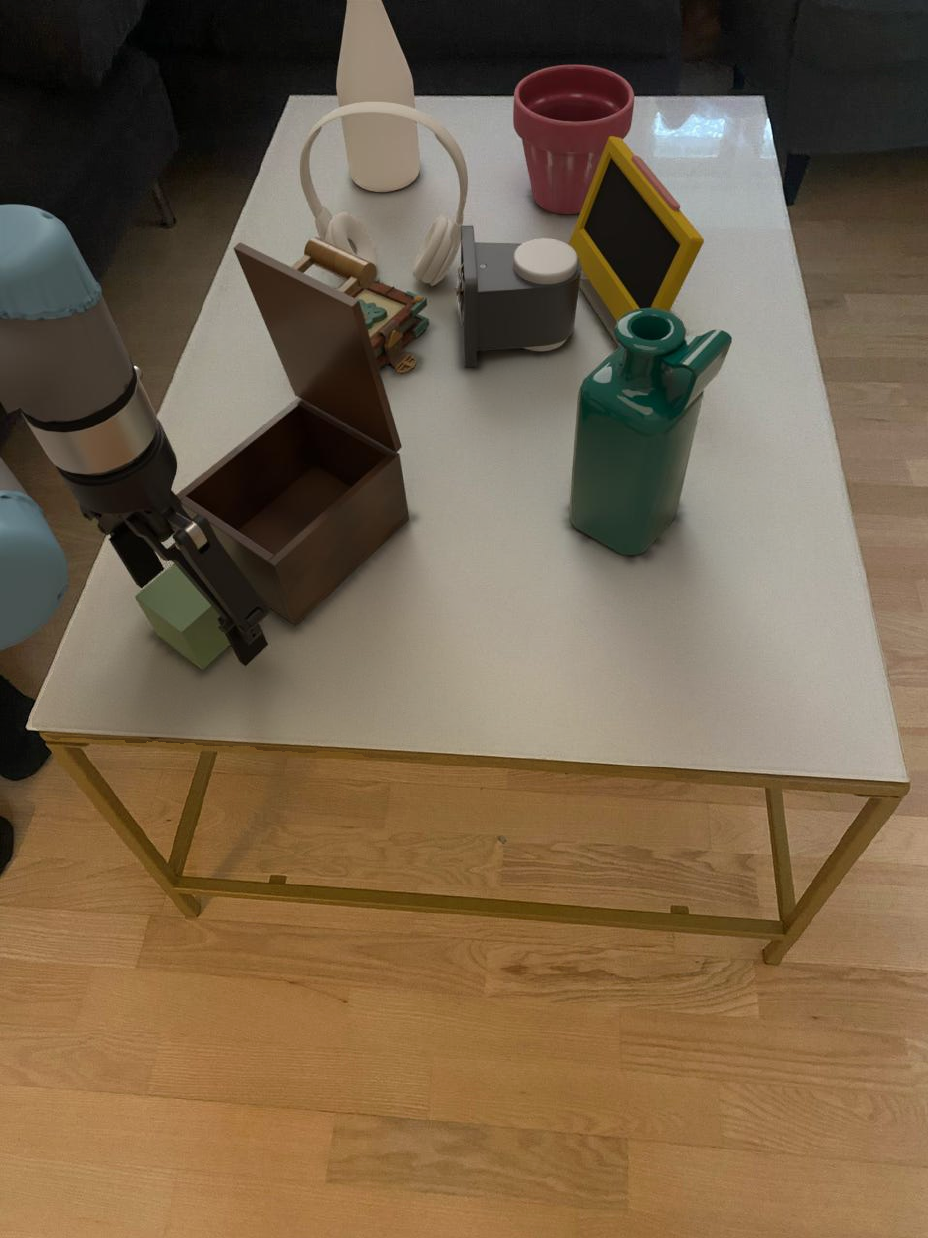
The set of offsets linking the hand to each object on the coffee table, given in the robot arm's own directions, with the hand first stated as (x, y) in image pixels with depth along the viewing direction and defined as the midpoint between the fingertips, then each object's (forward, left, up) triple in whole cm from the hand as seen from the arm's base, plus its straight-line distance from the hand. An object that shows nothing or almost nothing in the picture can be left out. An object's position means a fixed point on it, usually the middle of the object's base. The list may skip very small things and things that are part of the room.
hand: (200, 614), depth 79 cm
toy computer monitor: (+54, +23, -2) cm, 59 cm away
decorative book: (+23, +29, -2) cm, 37 cm away
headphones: (+32, +41, -2) cm, 52 cm away
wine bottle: (+38, +63, -2) cm, 74 cm away
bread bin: (+11, +6, -2) cm, 13 cm away
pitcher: (+40, -4, -2) cm, 40 cm away
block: (0, 0, -2) cm, 2 cm away
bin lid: (+17, +10, +15) cm, 24 cm away
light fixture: (+41, +25, -2) cm, 48 cm away
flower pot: (+58, +48, -2) cm, 76 cm away
